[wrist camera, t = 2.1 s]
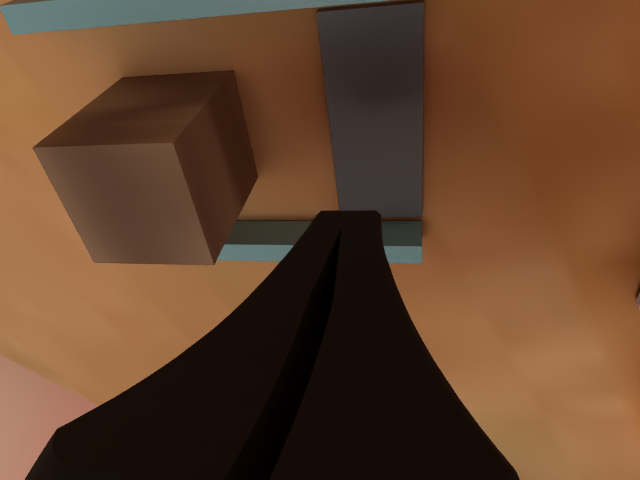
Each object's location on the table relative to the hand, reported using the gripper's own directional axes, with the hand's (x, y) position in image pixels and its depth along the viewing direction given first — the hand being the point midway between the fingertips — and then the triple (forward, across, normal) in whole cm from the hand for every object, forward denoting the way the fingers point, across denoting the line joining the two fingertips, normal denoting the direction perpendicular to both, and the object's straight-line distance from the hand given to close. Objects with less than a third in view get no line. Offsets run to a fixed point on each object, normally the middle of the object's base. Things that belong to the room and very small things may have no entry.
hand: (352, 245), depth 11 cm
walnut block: (+6, +6, 0) cm, 9 cm away
